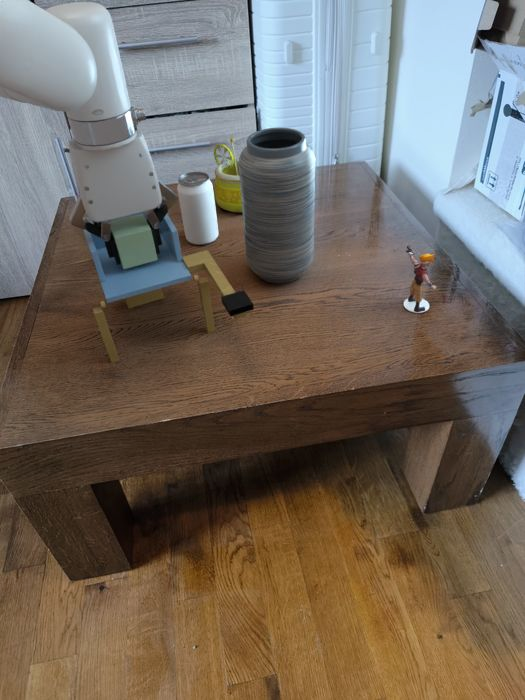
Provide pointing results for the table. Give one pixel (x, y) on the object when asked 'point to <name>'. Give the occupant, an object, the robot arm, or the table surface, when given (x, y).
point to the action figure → (418, 283)
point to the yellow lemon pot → (228, 181)
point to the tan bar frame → (148, 298)
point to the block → (133, 241)
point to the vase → (278, 203)
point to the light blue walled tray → (162, 271)
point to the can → (198, 208)
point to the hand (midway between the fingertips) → (136, 253)
